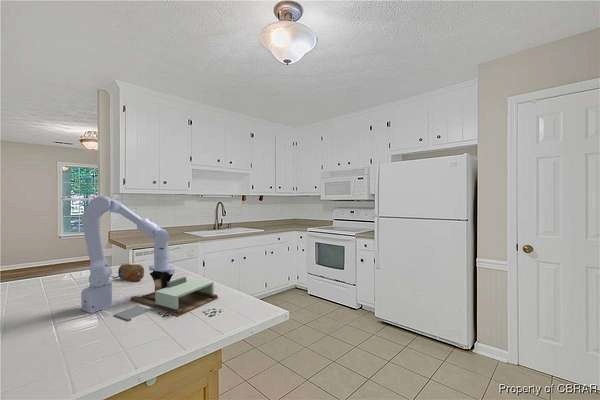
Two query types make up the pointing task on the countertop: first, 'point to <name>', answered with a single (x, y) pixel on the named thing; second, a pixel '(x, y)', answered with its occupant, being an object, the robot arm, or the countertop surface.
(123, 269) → the tin
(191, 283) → the cover
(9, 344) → the countertop surface
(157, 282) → the block
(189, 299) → the puzzle board
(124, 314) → the mat
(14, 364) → the countertop surface
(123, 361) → the countertop surface
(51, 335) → the countertop surface
